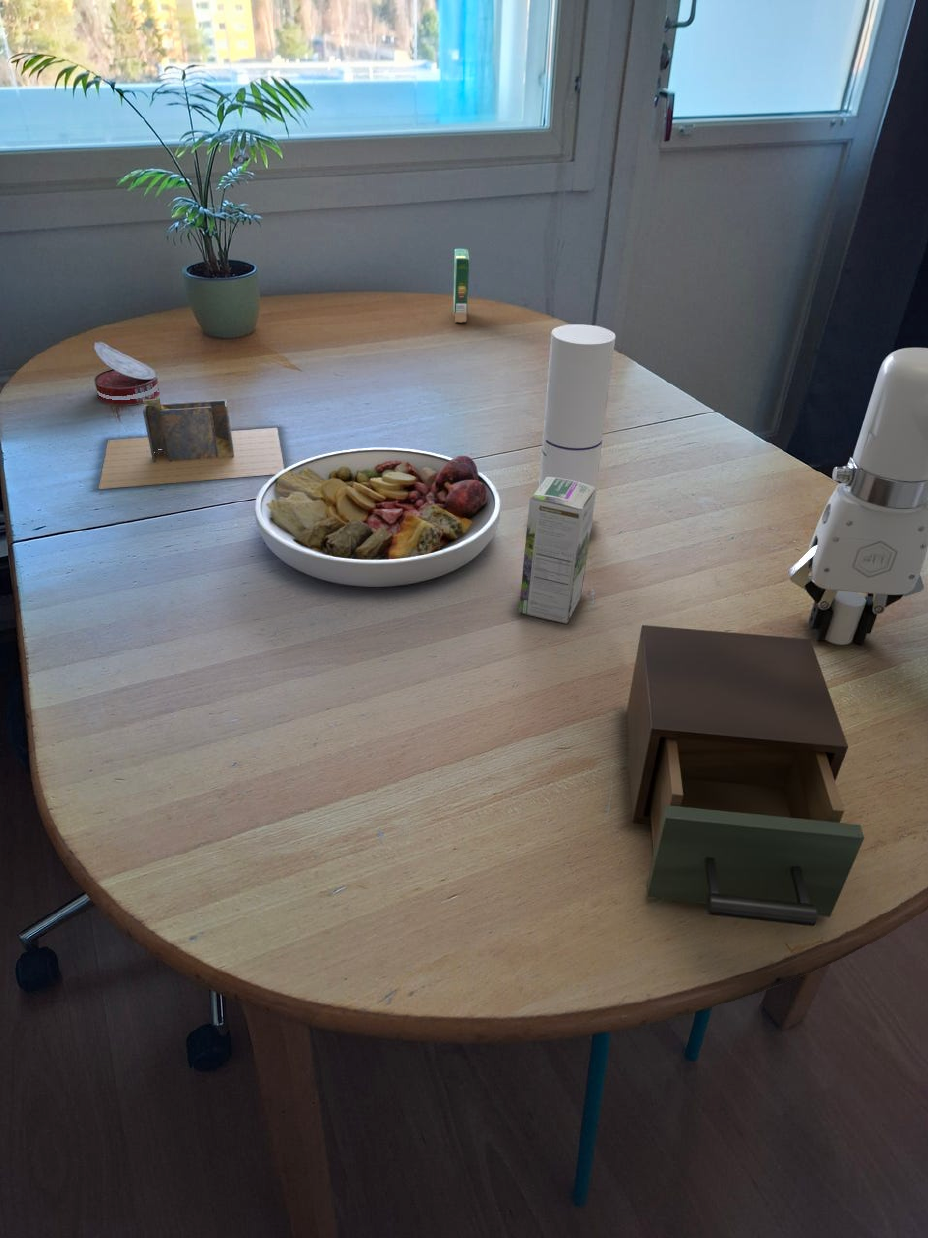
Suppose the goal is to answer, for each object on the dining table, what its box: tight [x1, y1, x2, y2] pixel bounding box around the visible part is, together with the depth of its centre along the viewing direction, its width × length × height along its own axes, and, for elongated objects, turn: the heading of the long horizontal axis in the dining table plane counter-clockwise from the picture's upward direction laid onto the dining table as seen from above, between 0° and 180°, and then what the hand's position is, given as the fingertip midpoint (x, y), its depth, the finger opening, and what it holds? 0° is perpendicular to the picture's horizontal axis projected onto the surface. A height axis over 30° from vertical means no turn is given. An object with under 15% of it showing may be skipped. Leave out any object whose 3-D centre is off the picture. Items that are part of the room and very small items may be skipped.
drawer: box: [645, 737, 865, 927], centre depth 66 cm, size 17×13×9 cm
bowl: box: [254, 447, 502, 588], centre depth 108 cm, size 30×30×8 cm
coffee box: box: [453, 248, 470, 314], centre depth 181 cm, size 8×3×13 cm, turn 2°
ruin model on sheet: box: [98, 397, 285, 490], centre depth 124 cm, size 25×16×10 cm, turn 104°
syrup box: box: [518, 477, 598, 625], centre depth 94 cm, size 6×6×14 cm
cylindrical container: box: [538, 323, 617, 534], centre depth 105 cm, size 7×7×25 cm
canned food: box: [93, 341, 161, 407], centre depth 144 cm, size 11×10×10 cm
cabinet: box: [625, 624, 849, 825], centre depth 74 cm, size 14×15×11 cm
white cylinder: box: [825, 591, 866, 646], centre depth 93 cm, size 3×3×5 cm
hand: (836, 633), depth 95 cm, fingers closed on white cylinder, 3 cm apart
